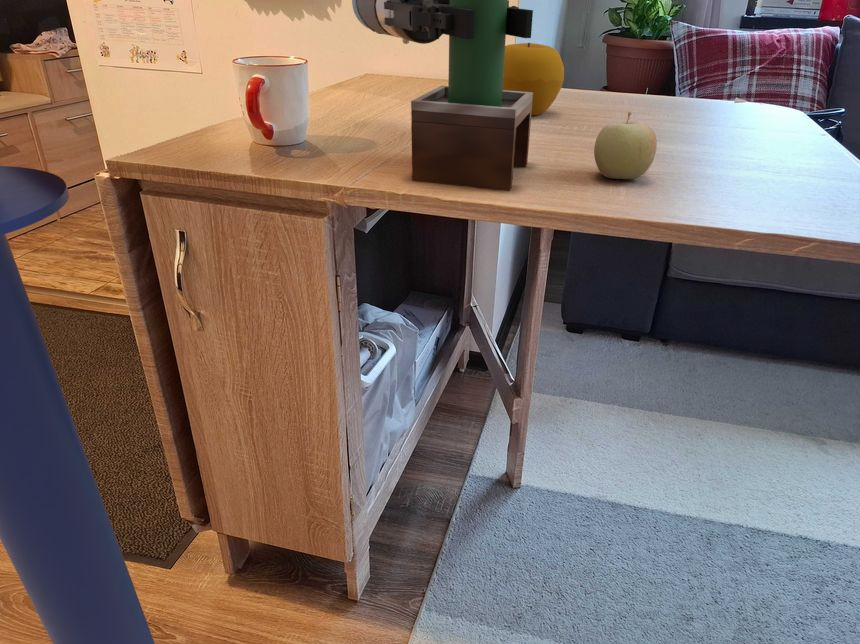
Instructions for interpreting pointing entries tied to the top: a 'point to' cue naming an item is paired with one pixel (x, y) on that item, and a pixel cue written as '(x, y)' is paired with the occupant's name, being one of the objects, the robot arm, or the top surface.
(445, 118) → the brown wooden box
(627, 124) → the fruit
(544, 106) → the apple
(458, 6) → the bottle
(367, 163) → the top surface
